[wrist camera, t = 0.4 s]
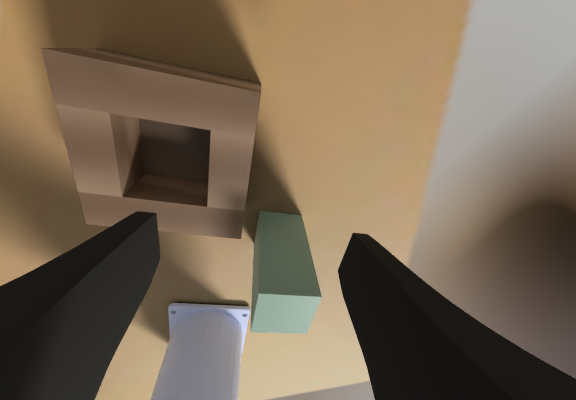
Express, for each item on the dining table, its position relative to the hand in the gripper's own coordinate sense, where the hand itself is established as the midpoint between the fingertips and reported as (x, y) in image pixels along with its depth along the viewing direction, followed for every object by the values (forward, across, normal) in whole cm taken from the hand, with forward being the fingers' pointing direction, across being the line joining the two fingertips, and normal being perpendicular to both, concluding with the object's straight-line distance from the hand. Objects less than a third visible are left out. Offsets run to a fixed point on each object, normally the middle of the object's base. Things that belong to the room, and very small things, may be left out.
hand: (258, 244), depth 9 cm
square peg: (+10, -2, +6) cm, 12 cm away
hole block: (+10, +5, 0) cm, 11 cm away
